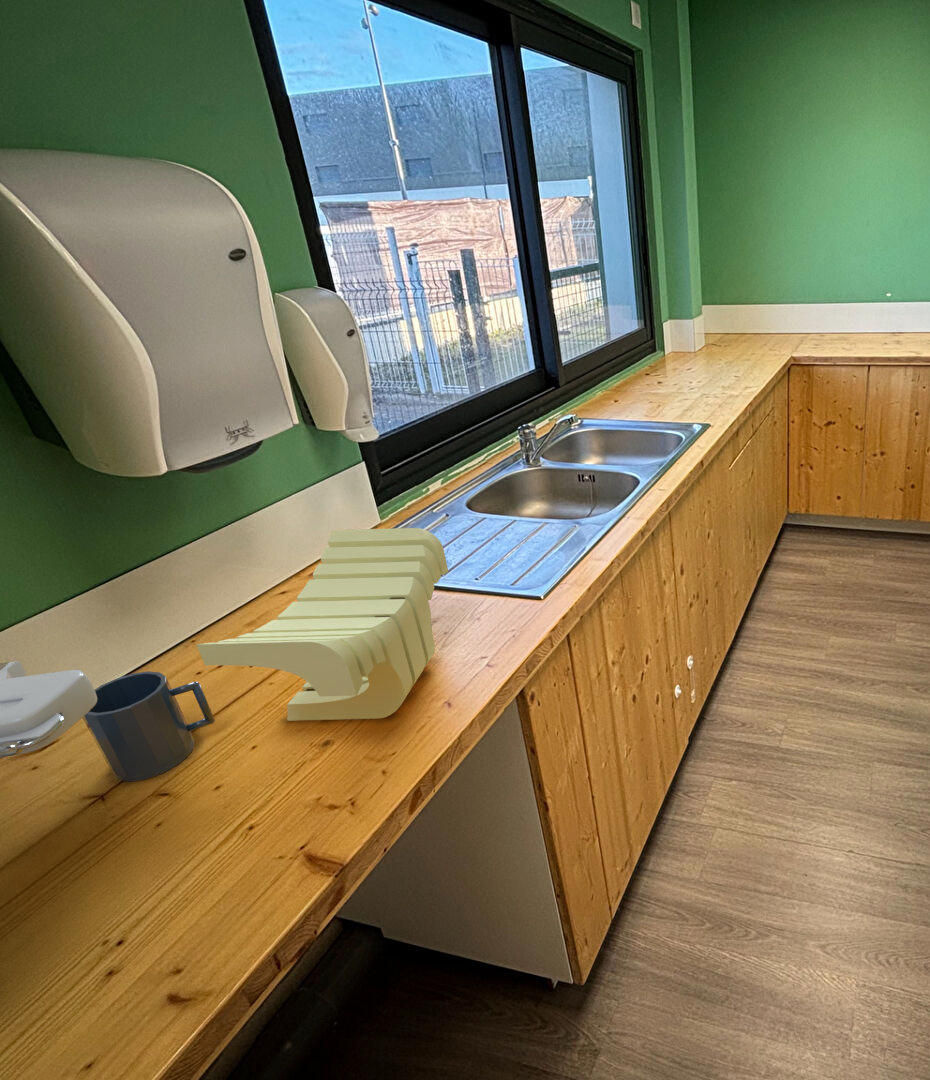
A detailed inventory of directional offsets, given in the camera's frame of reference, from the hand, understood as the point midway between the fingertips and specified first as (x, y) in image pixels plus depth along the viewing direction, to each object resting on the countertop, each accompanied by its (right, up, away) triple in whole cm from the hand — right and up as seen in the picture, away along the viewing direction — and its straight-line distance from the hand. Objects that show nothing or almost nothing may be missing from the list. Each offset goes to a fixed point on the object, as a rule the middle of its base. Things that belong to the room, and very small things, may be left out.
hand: (5, 669), depth 66 cm
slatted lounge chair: (+19, -9, +32) cm, 38 cm away
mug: (-1, -14, +21) cm, 25 cm away
